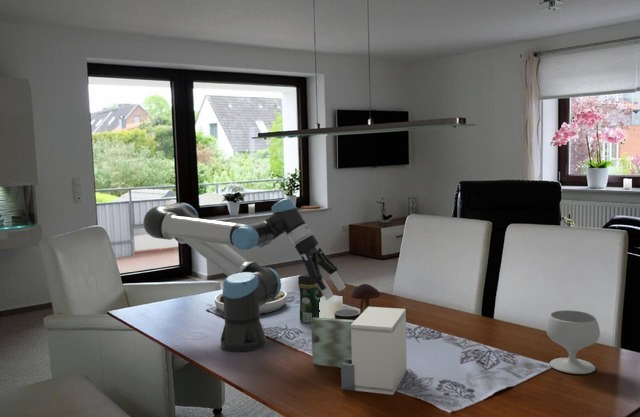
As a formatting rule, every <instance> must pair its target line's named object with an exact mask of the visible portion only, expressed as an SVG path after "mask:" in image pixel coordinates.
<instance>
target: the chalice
mask: <svg viewBox="0 0 640 417" xmlns="http://www.w3.org/2000/svg"><path fill="white" fill-rule="evenodd" d="M545 327H546V328H545V329H546V334H547V336H548V337H549V339H551V341H553V342H554V343H556V344H558V345H559V346H561V347H563V348H564V349H565V350H566V351H567V353H568V357H559V358H554V359H552V360H551V361H550V362H549V366H550V367H551V368H552V369H555V370H557V371H559V372H562V373H567V374H574V375H586V374H591V373H593V372H595V371H596V368H597V367H596V366H595V365H594V364H593V363H592V362H589V361H587V360H584V359H580V358H577V353H578V352H579V351H580V350H582V349H584V348H587V347H591V346H592V345H594V344H596V343H597V342H598V340H599V338H600V336H601V332H600V331H601V330H600V325H599V321H597V319H596V317H595V315H593V314H591V313H588V312H584V311H578V310H569V309H568V310H557V311H553V312H552V313H550V315H549V316H548V319H547V321H546V326H545Z"/></svg>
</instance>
